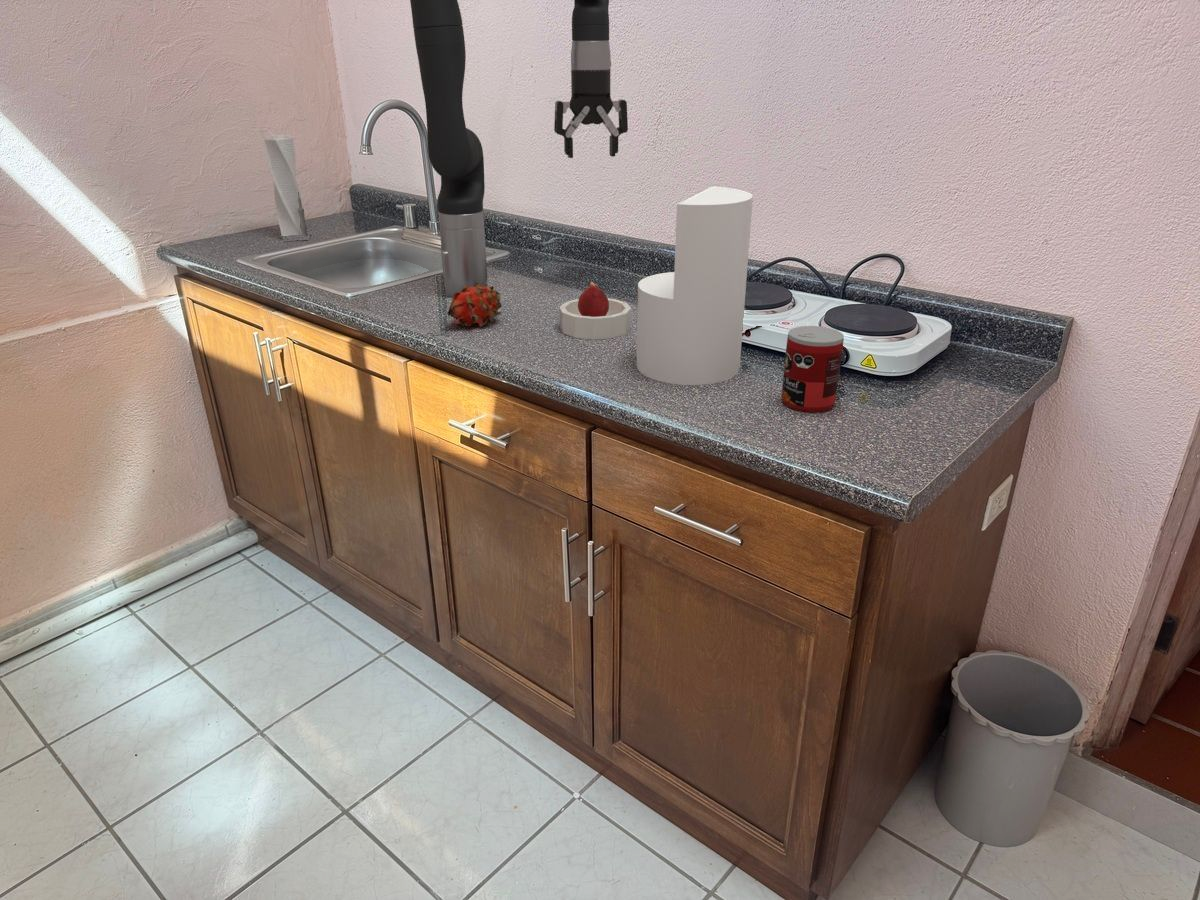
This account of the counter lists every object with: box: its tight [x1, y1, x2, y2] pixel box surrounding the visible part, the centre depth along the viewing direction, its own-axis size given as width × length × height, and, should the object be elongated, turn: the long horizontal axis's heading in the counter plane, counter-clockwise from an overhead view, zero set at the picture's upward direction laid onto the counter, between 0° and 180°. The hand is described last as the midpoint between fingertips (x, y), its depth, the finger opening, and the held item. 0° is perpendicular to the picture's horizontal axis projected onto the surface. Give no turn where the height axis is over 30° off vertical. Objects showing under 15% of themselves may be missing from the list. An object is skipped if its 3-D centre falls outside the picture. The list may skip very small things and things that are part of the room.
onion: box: [578, 282, 609, 317], centre depth 158 cm, size 6×6×8 cm
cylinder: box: [636, 185, 754, 386], centre depth 135 cm, size 17×17×28 cm
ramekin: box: [559, 298, 632, 341], centre depth 159 cm, size 13×13×4 cm
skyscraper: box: [259, 128, 309, 237], centre depth 224 cm, size 8×8×28 cm
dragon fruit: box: [447, 283, 503, 328], centre depth 160 cm, size 8×8×12 cm
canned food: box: [781, 325, 845, 413], centre depth 125 cm, size 8×8×11 cm
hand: (591, 156), depth 167 cm, fingers open, 8 cm apart
